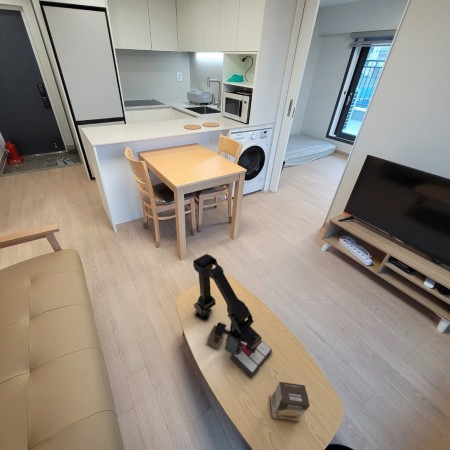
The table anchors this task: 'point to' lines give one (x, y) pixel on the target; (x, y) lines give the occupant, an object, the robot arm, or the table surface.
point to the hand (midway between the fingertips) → (234, 346)
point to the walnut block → (214, 339)
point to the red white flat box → (252, 358)
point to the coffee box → (289, 401)
